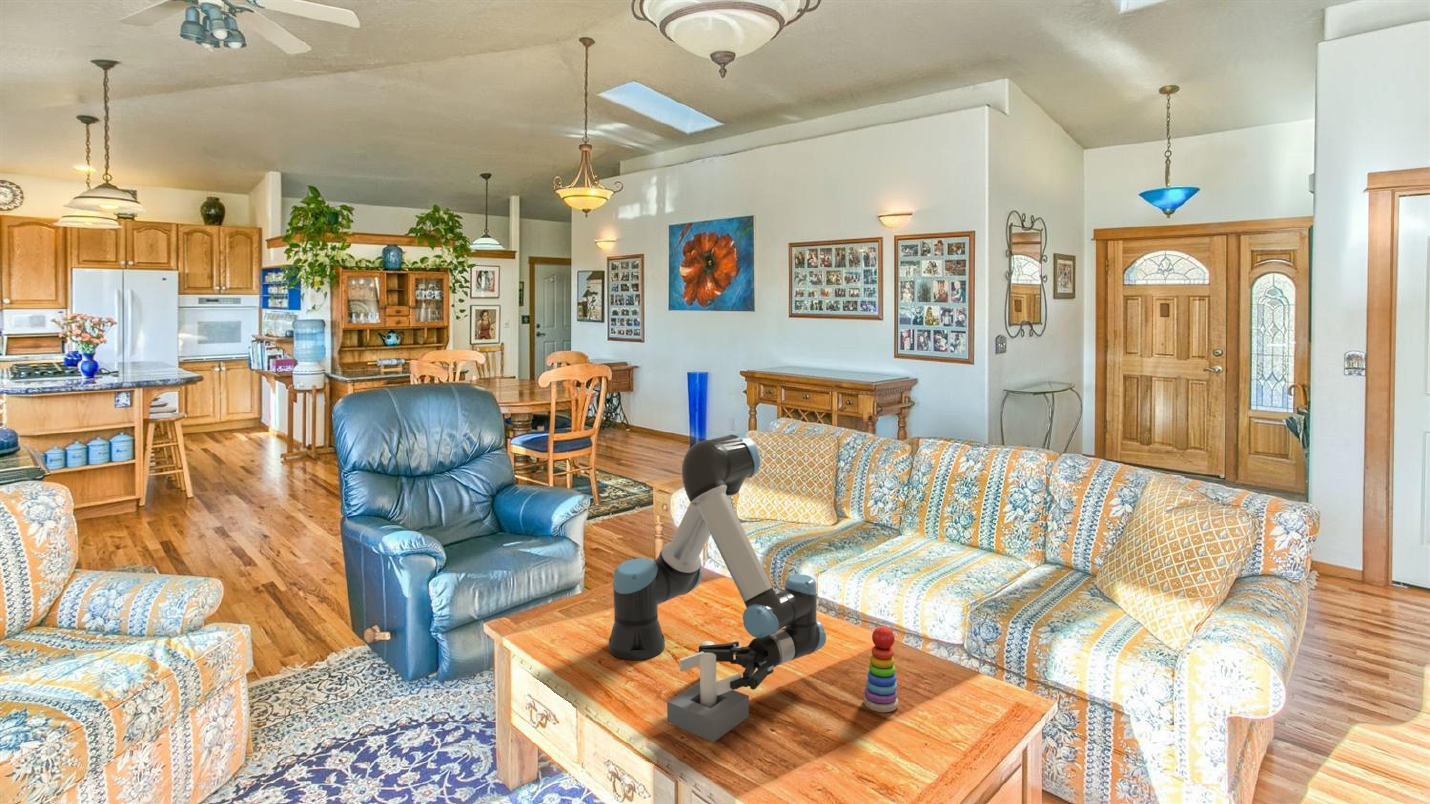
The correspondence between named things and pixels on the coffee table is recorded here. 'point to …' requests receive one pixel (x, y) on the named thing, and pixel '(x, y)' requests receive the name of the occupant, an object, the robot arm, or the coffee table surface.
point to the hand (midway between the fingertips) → (697, 677)
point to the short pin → (707, 643)
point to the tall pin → (708, 680)
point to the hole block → (707, 713)
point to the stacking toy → (881, 673)
